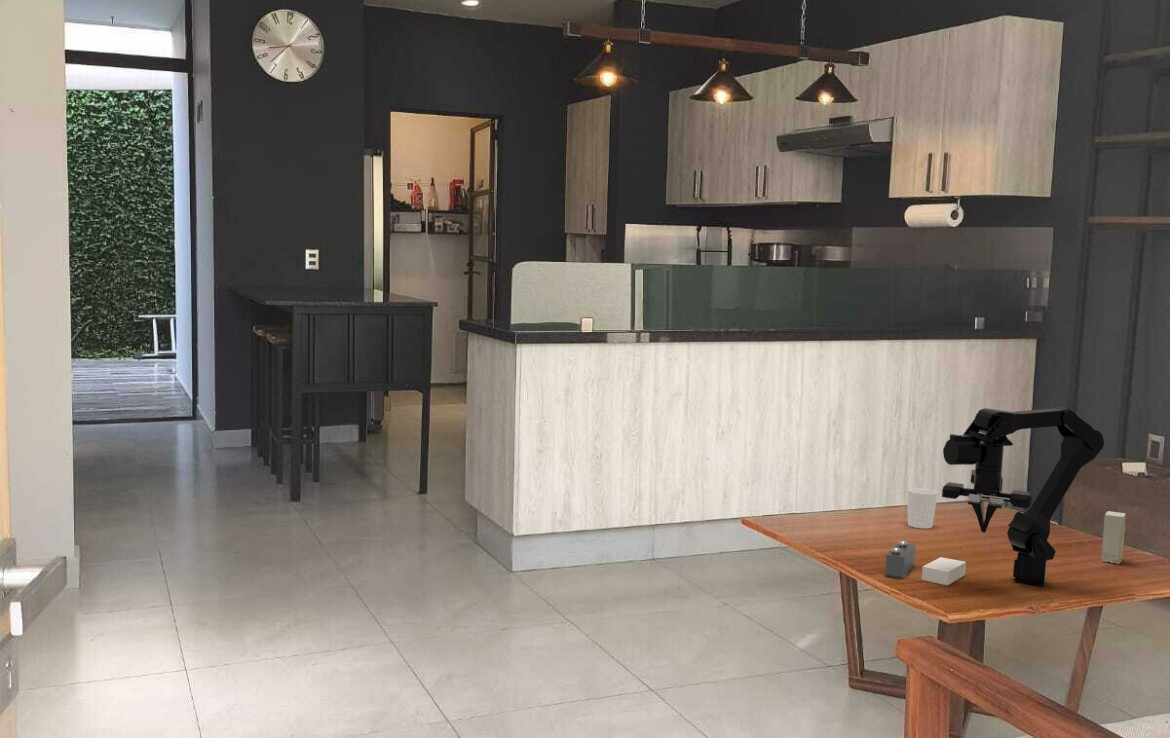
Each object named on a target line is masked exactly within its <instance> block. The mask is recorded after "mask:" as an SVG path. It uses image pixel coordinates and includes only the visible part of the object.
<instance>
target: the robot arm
mask: <svg viewBox="0 0 1170 738" xmlns="http://www.w3.org/2000/svg"><path fill="white" fill-rule="evenodd" d="M1047 427H1048V428H1049V427H1055V429H1056V431H1057V433H1058V434H1059V435H1060V436H1061V438H1063V439H1062V441H1061V444H1060V458H1059V459H1058V461H1057V462H1056V464H1055V466H1054V468H1053V469H1052V471H1051V473H1050V475H1049V476H1048V478H1047V480H1046V482H1045V483H1044V485H1043V487H1042V488H1041V490H1040V492H1039V493H1038V495H1037V496H1036V498H1035V500H1034V501H1033V503H1032V497H1033V496H1032V494H1031V492H1029V491H1025V490H1015V489H1013V490H1012V491H1011V492H1010V493H1009V492H1002V491H1003V481H1004V480H1003V479H1004V478H1003V476H1002V474H1003V458H1004V449H1005V447H1011V446H1013V444H1014V443H1013V442H1012V441H1011V440H1010V439H1009V438H1008V437H1007V436H1008V435H1009V436H1010V435H1013V434H1015V433H1016V432H1017V431H1020V430H1028V429H1038V428H1047ZM1105 443H1106V442H1105V439H1104V436H1103V433H1102V432H1101V431H1099V430H1097V429H1094V428H1093V426H1091V425H1090V424H1089V423H1088V422H1086V421H1085V420H1084V419H1082V418H1081V417H1079V416H1078V415H1077V414H1076V412H1074V411H1073V410H1072V409H1071V408H1066V407H1061V406H1056V407H1053V408H1042V409H1031V410H1029V409H1028V410H1020V411H1017V410H1016V411H1008V410H1004V409H1003V410H1002V409H994V408H985V407H984V408H981V409H979V410H978V412H977V413H976V414H975V417H974V419H973V420H972V422H971V423H970V425H969V426H968V427H967V429H966V430H965V431H964V432H963V434H961V435H960V434H959V435H958V434H955V433H954V434H953V433H952V434H949V439H948V440H947V441H946V442H945V443H944V447H943V449H942V455H943V459H944V461H945V463H946V464H947V465H950V466H952V465H953V466H957V465H958V466H959V465H960V466H964V465H966V466H970V465H971V466H973V465H974V466H975V468H974V469H972V470H971V473H970V484H971V485H973V488H969V487H967V488H966V487H965V485H964V483H959V482H958V483H957V482H951V481H949V482H947V483H946V484H945V485H943V486H942V490H941V491H942V492H941V497H942V498H946V499H955V500H957V499H958V497H960V496H962V497H967V498H968V500H967V504H968V505H970V506H972V509H973V511H974V513H975V514H976V517H977V521H978V526H979V528H980V531H981V533H986V532H987V529H988V527H989V525H990V524H991V523H990V522H991V520H992V518H993V516H994V514H995V512H996V511H997V509H1002V508H1003V506H1004V505H1005V502H1009V503H1010V504H1011V505H1012V506H1013V507H1016V508H1024V509H1027V511H1025V512H1021V511H1018V510H1017V511H1016V513H1015V514H1014V515H1013V518H1012V520H1011V522H1010V523H1008V525H1007V526H1008V528H1007V533H1006V535H1007V538H1008V542H1010V545H1011V550H1012V551H1013V552H1017V556H1016V557H1015V559H1014V560H1013V561H1014V562H1013V573H1012V577H1013V578H1014V580H1013V581H1014V582H1016V583H1022V584H1030V585H1035V586H1040V587H1044V586H1045V585H1046V582H1047V567H1048V565H1047V564H1048V561H1051V560H1053V559H1054V557H1055V554H1056V551H1057V550H1055V548H1054V547H1053V546H1052V545H1051V543H1050V542H1049V541H1048V539H1049V537H1050V534H1051V520H1052V518H1053V516H1054V514H1055V513H1056V511H1057V509H1058V507H1059V506H1060V504H1062V501H1063V500H1064V497H1065V496H1066V494H1067V492H1068V491H1069V489H1070V488H1071V485H1072V484H1073V482H1074V481H1075V479H1076V478H1077V476H1078V473H1079V472H1080V470H1081V469H1082V468H1083V467H1084V466H1086V465H1088V464H1090V463H1091V462H1092V461H1094V459H1096V457H1097V456H1098V455H1099V454H1100V453H1101V452H1102V451H1103V449H1104V446H1105ZM985 499H986V500H989V502H988V503H987V506H986V512H985ZM1031 504H1032V505H1031Z"/></svg>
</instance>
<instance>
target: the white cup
mask: <svg viewBox="0 0 1170 738" xmlns="http://www.w3.org/2000/svg"><path fill="white" fill-rule="evenodd" d="M937 496H938V492H937V491H935V490H933V489H930V488H929V489H927V488H919V487H918V488H915V487H914V488H912V487H911V488H909V489H907V508H906V509H907V510H906V511H907V526H908V527H911V528H915V529H924V530H926V529H932V528H933V525H934V518H935V513H936V507H937V506H936V505H937V498H938V497H937Z"/></svg>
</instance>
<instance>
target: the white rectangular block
mask: <svg viewBox="0 0 1170 738" xmlns="http://www.w3.org/2000/svg"><path fill="white" fill-rule="evenodd" d="M966 567H967V561H963V560H956V559H952V558H948V557H942V556H940V557H938V558H937V559H935V560H933V561H931V562H929V563H927V564H925V565H923V566H922V570H921V571H922V572H921V581H925V582H930V583H934V584H940V585H943V586H949V585H951V584H952V583H954V582H956V581H958V580H960V579H961V578H962V577H964V576H966Z"/></svg>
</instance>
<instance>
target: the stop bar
mask: <svg viewBox="0 0 1170 738" xmlns="http://www.w3.org/2000/svg"><path fill="white" fill-rule="evenodd" d="M916 548H917V545H916V544H912V543H908V541H906V540H898V543H897V544H895V546H893V547H891V549H890V551H888V552H887V553H886V558H885V571H884V572H885V573H884V576H886V577H890V578H897V579H904V577H906V575H907V574H908V573H909V572H910V571H911V570H912V569H913V567H914V566H915V560H916V550H917V549H916Z"/></svg>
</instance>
